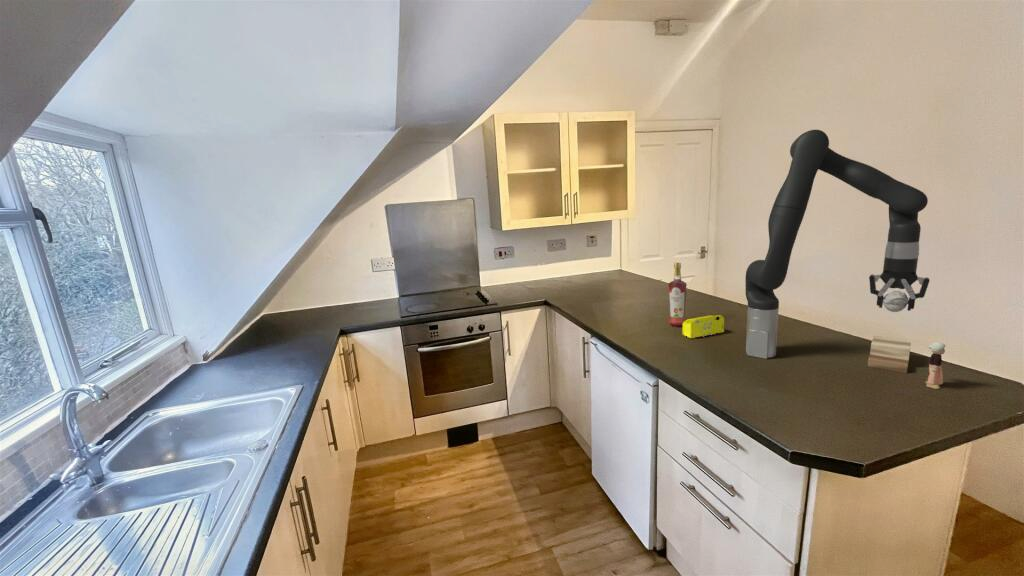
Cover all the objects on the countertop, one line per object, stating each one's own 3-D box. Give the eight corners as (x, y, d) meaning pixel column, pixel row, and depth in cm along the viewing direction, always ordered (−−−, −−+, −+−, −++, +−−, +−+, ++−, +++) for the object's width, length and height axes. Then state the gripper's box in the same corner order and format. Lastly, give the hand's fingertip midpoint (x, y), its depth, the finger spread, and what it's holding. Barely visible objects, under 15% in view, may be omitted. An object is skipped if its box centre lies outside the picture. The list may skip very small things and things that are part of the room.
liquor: (687, 323, 184) (688, 261, 178) (684, 328, 178) (685, 264, 172) (670, 321, 188) (670, 261, 182) (666, 326, 182) (666, 264, 176)
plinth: (906, 373, 123) (909, 354, 122) (867, 366, 130) (869, 348, 128) (908, 358, 133) (911, 340, 132) (872, 352, 139) (874, 335, 138)
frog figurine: (885, 314, 128) (888, 292, 126) (877, 308, 134) (880, 287, 133) (911, 315, 125) (914, 293, 124) (902, 309, 132) (904, 288, 130)
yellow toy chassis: (691, 340, 164) (691, 320, 162) (681, 336, 169) (682, 317, 167) (724, 334, 168) (725, 314, 166) (714, 330, 173) (715, 311, 171)
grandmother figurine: (946, 391, 112) (953, 347, 109) (927, 389, 114) (933, 346, 111) (937, 380, 118) (944, 338, 115) (919, 378, 120) (925, 337, 117)
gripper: (869, 256, 128) (863, 308, 132) (934, 259, 118) (926, 314, 122) (871, 253, 133) (866, 303, 137) (934, 255, 123) (927, 308, 127)
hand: (894, 308), depth 129 cm, fingers closed on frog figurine, 6 cm apart
